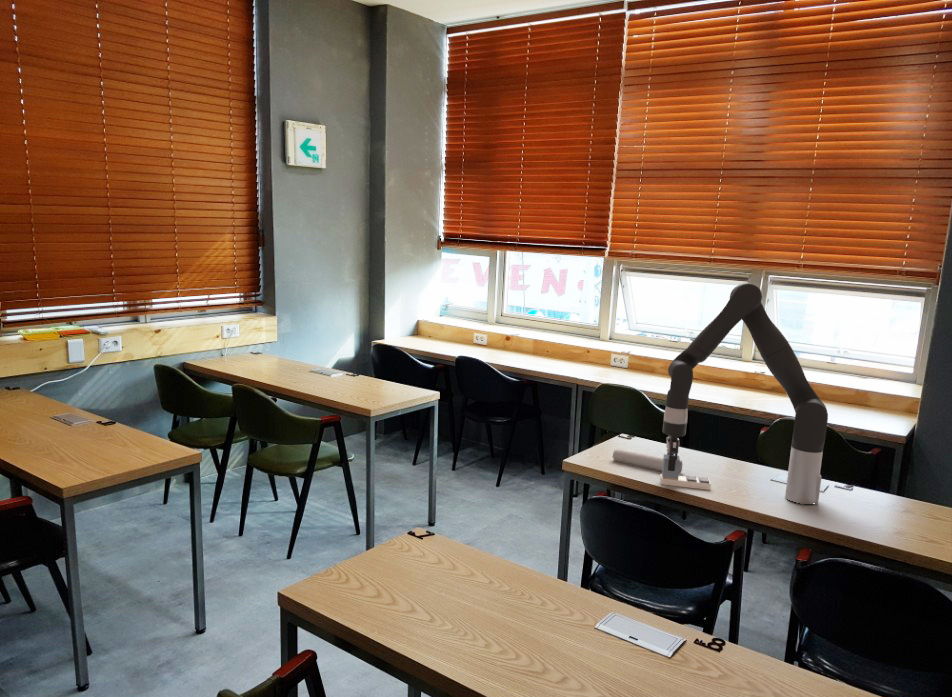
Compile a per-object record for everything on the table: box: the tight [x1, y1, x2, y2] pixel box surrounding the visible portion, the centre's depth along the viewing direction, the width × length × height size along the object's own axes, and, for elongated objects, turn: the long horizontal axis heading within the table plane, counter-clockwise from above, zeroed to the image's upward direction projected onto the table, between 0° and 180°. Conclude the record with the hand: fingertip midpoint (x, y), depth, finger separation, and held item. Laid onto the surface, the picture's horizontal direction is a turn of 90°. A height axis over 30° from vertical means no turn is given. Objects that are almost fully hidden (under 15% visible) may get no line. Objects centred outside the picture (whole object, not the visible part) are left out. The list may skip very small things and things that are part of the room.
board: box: [659, 473, 712, 491], centre depth 240 cm, size 16×5×2 cm, turn 78°
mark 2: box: [698, 476, 710, 483], centre depth 238 cm, size 3×4×1 cm
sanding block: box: [661, 453, 681, 480], centre depth 240 cm, size 5×5×7 cm
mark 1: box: [685, 475, 697, 482], centre depth 239 cm, size 3×4×1 cm
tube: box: [612, 448, 683, 476], centre depth 257 cm, size 5×5×25 cm
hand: (670, 466), depth 240 cm, fingers open, 8 cm apart
